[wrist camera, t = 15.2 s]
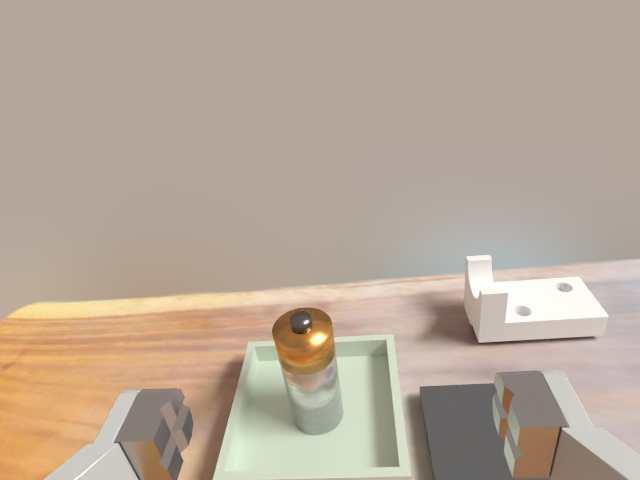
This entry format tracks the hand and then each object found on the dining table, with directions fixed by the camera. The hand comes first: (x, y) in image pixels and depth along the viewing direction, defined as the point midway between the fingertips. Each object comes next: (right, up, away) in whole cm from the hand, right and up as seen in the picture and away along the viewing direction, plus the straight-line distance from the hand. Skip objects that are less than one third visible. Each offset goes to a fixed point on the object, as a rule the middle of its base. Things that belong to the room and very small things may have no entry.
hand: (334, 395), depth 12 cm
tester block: (+14, -14, +29) cm, 35 cm away
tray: (0, -13, +33) cm, 35 cm away
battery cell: (-1, -13, +32) cm, 35 cm away
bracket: (+24, -6, +41) cm, 48 cm away
